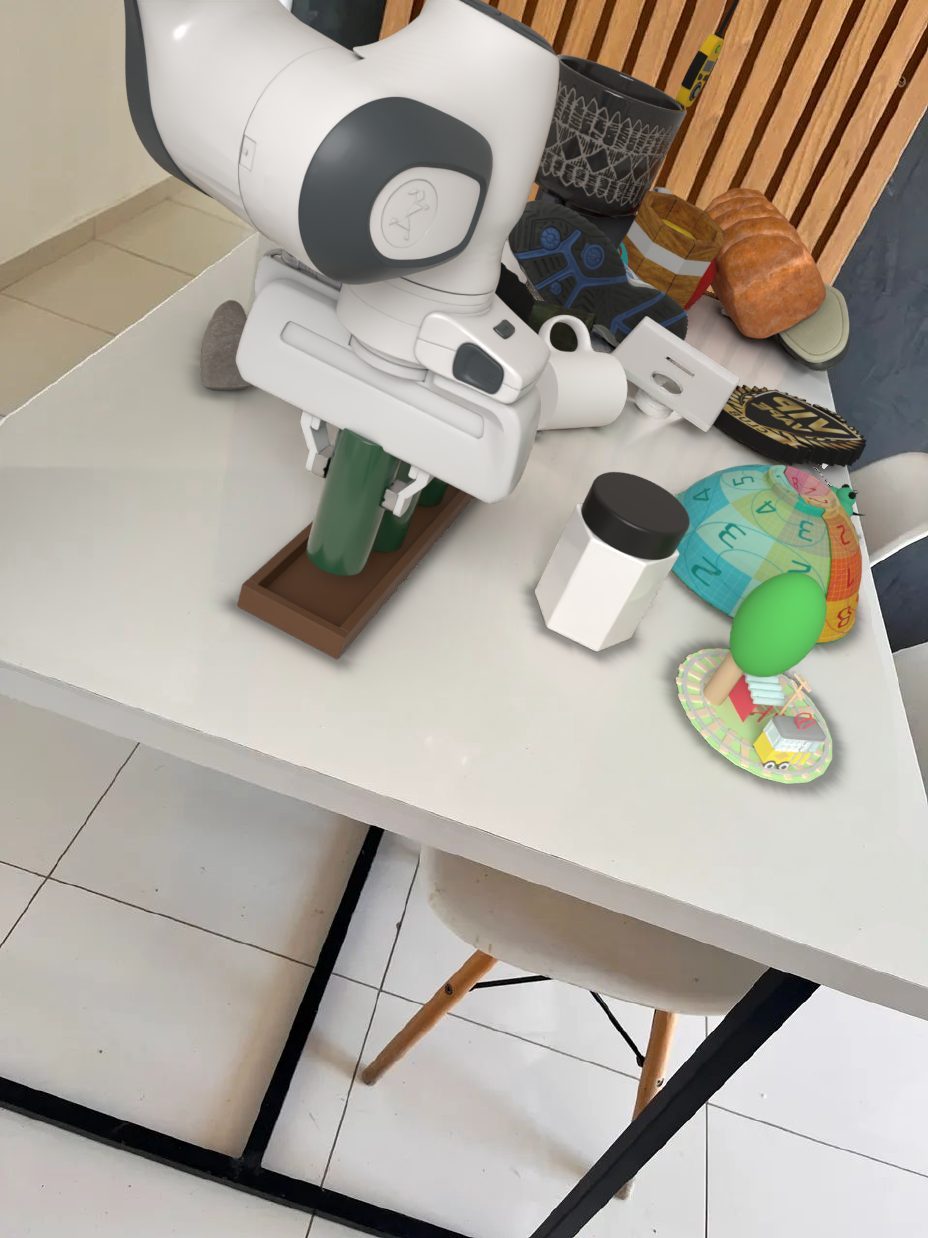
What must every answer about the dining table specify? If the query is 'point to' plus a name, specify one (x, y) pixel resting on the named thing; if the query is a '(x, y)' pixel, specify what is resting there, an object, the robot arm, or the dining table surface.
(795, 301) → the bread
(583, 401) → the mug
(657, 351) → the light switch
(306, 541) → the tray
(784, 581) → the train set
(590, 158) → the planter
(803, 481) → the bowl
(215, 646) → the dining table surface
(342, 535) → the bottle
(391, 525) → the tray bottle
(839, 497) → the toy
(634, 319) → the running shoe
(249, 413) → the dining table surface
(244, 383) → the stone tool
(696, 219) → the mug
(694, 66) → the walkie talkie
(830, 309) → the boat shoe
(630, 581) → the jar
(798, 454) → the emblem
